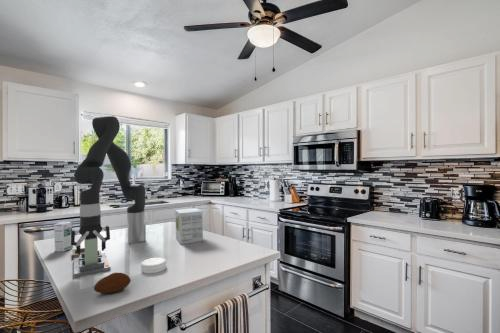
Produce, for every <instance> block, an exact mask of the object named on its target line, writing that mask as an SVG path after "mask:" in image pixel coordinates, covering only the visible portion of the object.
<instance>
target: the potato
mask: <svg viewBox="0 0 500 333" xmlns="http://www.w3.org/2000/svg"><path fill="white" fill-rule="evenodd" d="M131 281H132V279H131V277H130V276H129V275H128V274H125V273H124V272H112V273H111V274H110V273H109V275H107V276H104V277H103V278H101V279H99V280H98V281H97V282H96V283H95V285H94V287H93V290H94V291H95V292H97V293H100V294H104V295H105V294H112V293H119V292H121V291H123V290H124V289H125V288H127V287H128V286H129V285H130V283H131Z"/></svg>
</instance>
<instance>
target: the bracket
mask: <svg viewBox="0 0 500 333" xmlns="http://www.w3.org/2000/svg"><path fill="white" fill-rule="evenodd" d="M80 251H81V253H85V247H82V248H81V247H80ZM74 258H79V254H77V251H76V249H72V260H74Z"/></svg>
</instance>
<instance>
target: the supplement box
mask: <svg viewBox="0 0 500 333" xmlns="http://www.w3.org/2000/svg"><path fill="white" fill-rule="evenodd" d="M174 211H175V212H174V213H175V214H174V216H175V239H176V241H177V242H178V243H179V244H180V245H185V244H186V245H187V244H193V243H200V242H203V241H204V233H203V232H204V229H203V228H204V226H203V225H204V224H203V221H204V220H203V210H201V209H199V208H197V207H194V208H193V207H192V208H180V209H175V210H174Z"/></svg>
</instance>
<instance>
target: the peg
mask: <svg viewBox="0 0 500 333" xmlns="http://www.w3.org/2000/svg"><path fill="white" fill-rule="evenodd" d="M98 239H99V238H98V237H96V238H90V239H84V240H83V242H84V248H85V252H84V253H85V265H89V264H95V263H98V251H99V249H98V248H99V246H98V244H99V243H98V241H99V240H98Z"/></svg>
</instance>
